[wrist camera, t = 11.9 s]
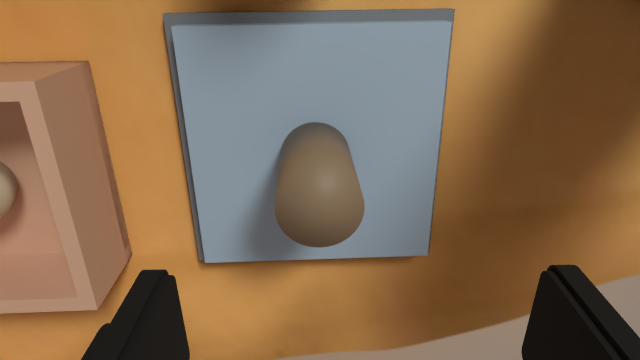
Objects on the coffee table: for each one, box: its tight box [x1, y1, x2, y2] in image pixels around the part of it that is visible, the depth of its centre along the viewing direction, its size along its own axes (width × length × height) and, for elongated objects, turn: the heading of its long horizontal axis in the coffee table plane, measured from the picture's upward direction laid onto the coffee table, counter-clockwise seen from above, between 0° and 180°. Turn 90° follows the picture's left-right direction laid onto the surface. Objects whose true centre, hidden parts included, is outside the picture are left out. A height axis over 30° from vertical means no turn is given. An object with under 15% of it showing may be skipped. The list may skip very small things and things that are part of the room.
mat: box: [163, 9, 455, 261], centre depth 24 cm, size 14×14×1 cm
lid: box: [171, 20, 452, 263], centre depth 21 cm, size 13×13×7 cm
